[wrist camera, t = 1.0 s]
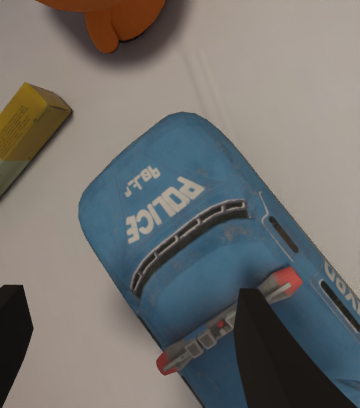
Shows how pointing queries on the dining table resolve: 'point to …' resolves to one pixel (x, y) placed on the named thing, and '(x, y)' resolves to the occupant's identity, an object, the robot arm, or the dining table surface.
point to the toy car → (213, 258)
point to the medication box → (27, 128)
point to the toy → (112, 19)
